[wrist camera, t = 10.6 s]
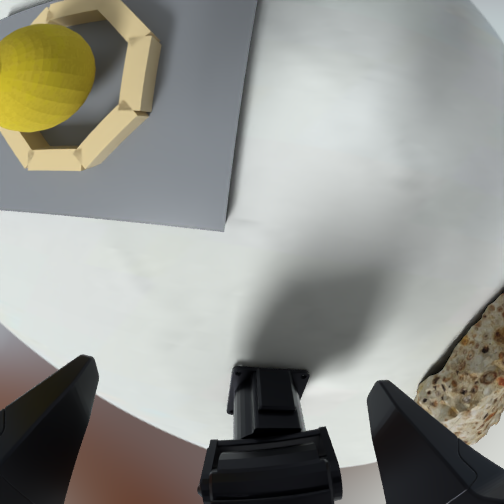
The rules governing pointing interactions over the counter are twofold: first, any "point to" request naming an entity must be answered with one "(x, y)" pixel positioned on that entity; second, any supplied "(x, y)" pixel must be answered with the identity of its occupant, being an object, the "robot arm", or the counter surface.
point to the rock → (470, 380)
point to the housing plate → (168, 140)
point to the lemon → (43, 76)
